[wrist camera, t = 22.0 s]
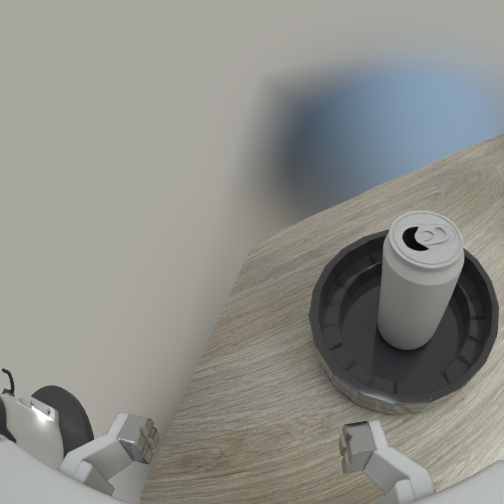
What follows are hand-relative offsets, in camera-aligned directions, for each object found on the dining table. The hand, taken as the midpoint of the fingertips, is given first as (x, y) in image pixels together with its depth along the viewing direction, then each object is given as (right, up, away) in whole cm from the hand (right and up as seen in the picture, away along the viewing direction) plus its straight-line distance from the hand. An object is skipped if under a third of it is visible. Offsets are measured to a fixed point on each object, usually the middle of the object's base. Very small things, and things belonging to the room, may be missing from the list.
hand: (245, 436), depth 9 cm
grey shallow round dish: (+16, 0, +14) cm, 21 cm away
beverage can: (+16, 0, +14) cm, 21 cm away
